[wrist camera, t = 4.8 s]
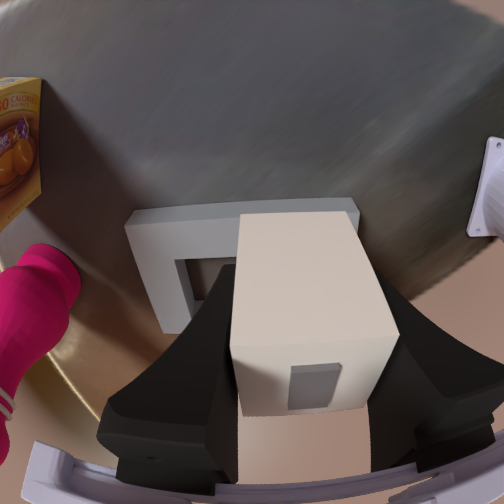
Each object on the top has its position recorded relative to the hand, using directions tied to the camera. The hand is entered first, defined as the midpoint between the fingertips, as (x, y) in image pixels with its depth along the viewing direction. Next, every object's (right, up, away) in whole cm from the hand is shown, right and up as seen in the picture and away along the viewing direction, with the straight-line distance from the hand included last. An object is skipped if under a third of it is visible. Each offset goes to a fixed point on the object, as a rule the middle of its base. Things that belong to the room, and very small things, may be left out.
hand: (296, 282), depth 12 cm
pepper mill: (-19, -1, +12) cm, 22 cm away
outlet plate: (-2, 0, +10) cm, 11 cm away
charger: (0, +1, +1) cm, 2 cm away
